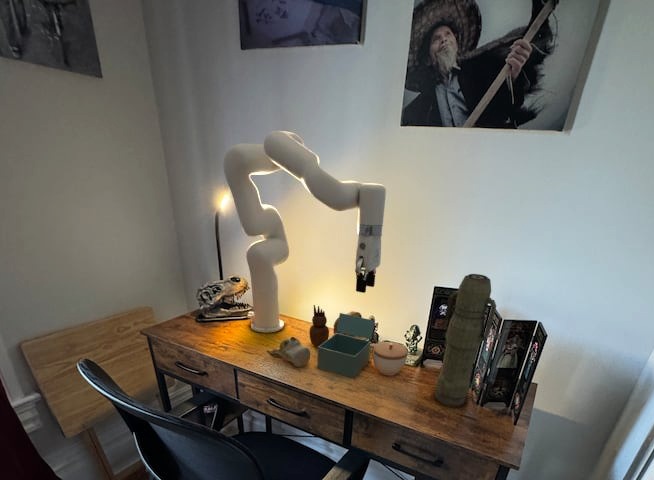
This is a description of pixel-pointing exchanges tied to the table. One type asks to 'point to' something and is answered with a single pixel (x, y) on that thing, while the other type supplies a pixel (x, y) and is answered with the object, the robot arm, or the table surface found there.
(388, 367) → the trinket box
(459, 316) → the thermos
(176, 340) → the table surface
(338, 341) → the carton
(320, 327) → the wooden figurine
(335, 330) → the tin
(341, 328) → the flap
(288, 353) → the ceramic sculpture
